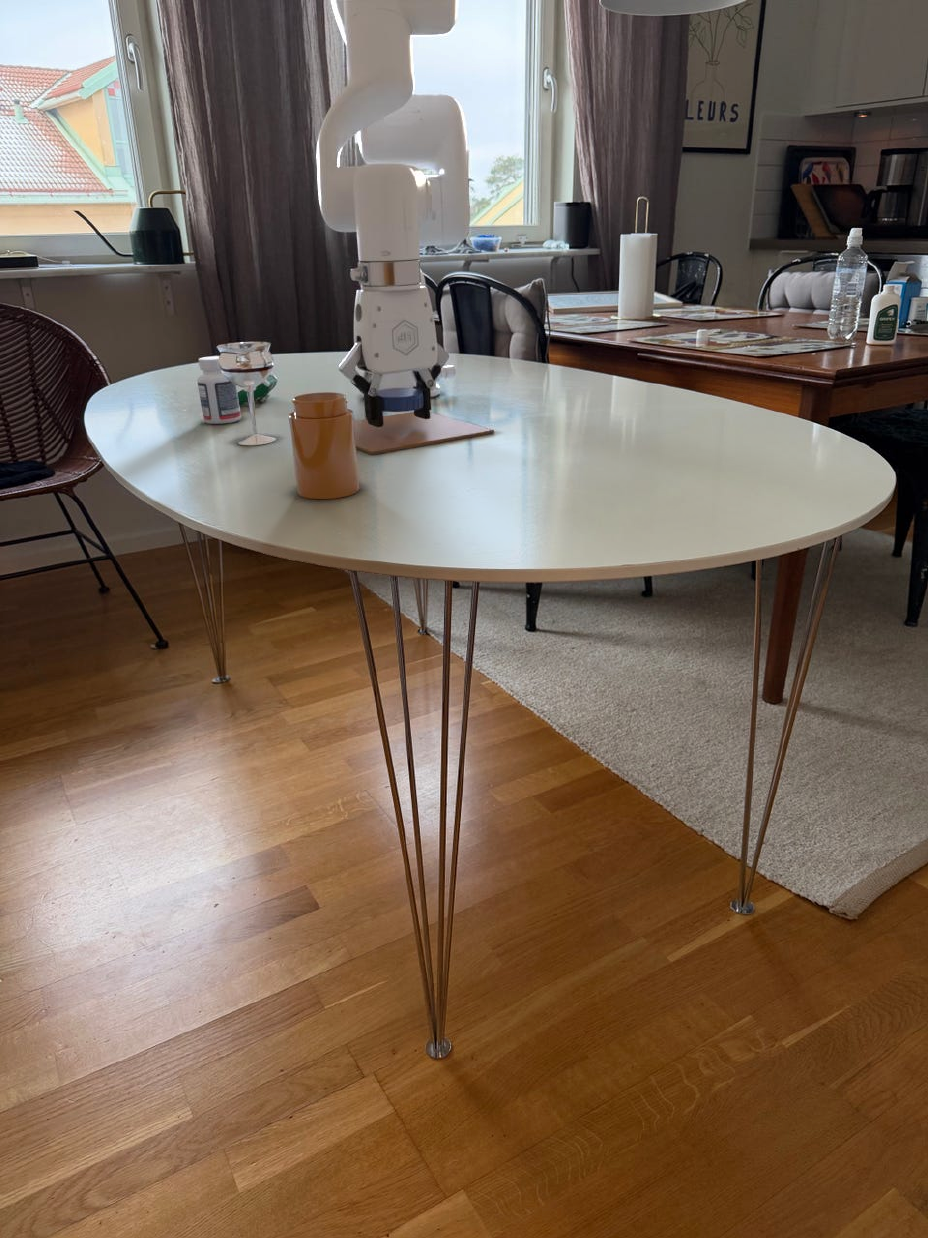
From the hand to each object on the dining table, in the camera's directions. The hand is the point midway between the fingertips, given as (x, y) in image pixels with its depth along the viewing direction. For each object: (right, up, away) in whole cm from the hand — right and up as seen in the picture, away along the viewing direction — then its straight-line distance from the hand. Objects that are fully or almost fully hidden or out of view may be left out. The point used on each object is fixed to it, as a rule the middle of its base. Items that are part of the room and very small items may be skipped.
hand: (399, 420), depth 113 cm
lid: (0, +3, -1) cm, 3 cm away
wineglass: (-18, -3, -2) cm, 19 cm away
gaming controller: (-25, +9, +25) cm, 36 cm away
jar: (-5, -13, -25) cm, 28 cm away
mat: (0, -1, 0) cm, 1 cm away
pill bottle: (-27, +2, +11) cm, 29 cm away
